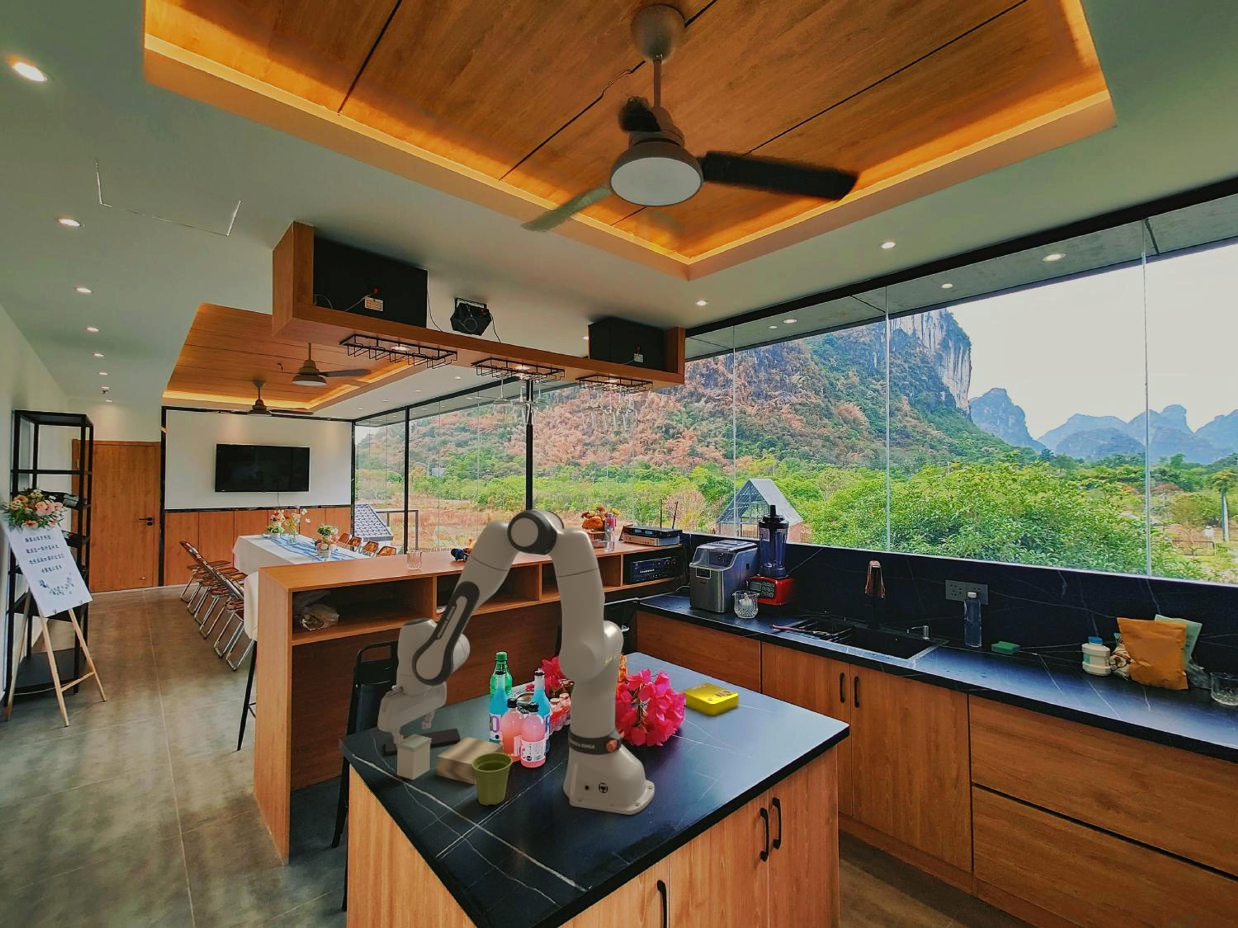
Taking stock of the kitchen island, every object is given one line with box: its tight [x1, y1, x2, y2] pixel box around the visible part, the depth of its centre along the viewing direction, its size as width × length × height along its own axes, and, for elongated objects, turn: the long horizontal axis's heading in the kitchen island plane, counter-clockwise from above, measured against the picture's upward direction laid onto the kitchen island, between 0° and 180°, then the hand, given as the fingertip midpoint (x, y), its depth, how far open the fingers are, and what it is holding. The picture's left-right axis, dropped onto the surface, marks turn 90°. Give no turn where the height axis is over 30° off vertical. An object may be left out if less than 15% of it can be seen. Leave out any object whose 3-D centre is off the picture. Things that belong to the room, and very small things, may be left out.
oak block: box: [436, 736, 504, 785], centre depth 146 cm, size 12×12×5 cm
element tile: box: [680, 682, 739, 717], centre depth 190 cm, size 15×15×5 cm
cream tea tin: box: [396, 733, 431, 780], centre depth 144 cm, size 6×6×8 cm
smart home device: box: [384, 727, 461, 757], centre depth 160 cm, size 8×2×20 cm
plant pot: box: [472, 752, 513, 806], centre depth 132 cm, size 9×9×9 cm
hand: (412, 735), depth 144 cm, fingers open, 8 cm apart
